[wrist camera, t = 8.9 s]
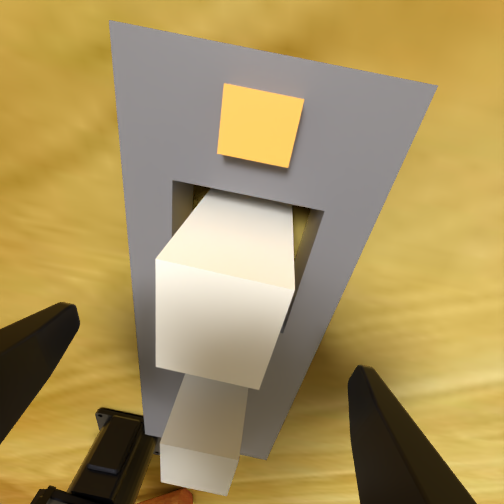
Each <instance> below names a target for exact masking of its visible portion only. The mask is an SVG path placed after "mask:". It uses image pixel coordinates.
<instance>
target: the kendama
mask: <svg viewBox="0 0 504 504" xmlns="http://www.w3.org/2000/svg"><path fill="white" fill-rule="evenodd" d="M137 504H193V497H192V493H191V492H190V491H188V490H187V489H186V488H182V489H179V490H176V491H173V492H170V493H167V494H164V495H161V496H158V497H155V498H152V499H149V500H146V501H143V502H140V503H137Z"/></svg>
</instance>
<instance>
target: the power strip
mask: <svg viewBox="0 0 504 504" xmlns="http://www.w3.org/2000/svg"><path fill="white" fill-rule="evenodd" d="M109 27H110V38H111V50H112V61H113V72H114V84H115V95H116V107H117V118H118V129H119V141H120V152H121V164H122V175H123V187H124V198H125V209H126V221H127V232H128V244H129V255H130V267H131V278H132V289H133V301H134V312H135V324H136V335H137V347H138V358H139V369H140V381H141V392H142V404H143V415H144V426H145V434H147V435H151V436H156V437H161V438H162V439H161V441H160V467H161V482H163V483H167V484H172V485H177V486H181V487H186V488H191V489H195V490H200V491H205V492H209V493H214V494H219V495H223V496H227V495H228V492H229V489H230V486H231V483H232V480H233V477H234V474H235V471H236V468H237V465H238V462H239V456H240V455H245V456H250V457H254V458H259V459H264V460H267V458H268V455H269V453H270V451H271V449H272V447H273V445H274V442H275V440H276V438H277V436H278V434H279V432H280V429H281V427H282V425H283V423H284V421H285V418H286V416H287V414H288V412H289V410H290V408H291V405H292V403H293V401H294V399H295V397H296V394H297V392H298V390H299V388H300V386H301V384H302V381H303V379H304V377H305V375H306V373H307V370H308V368H309V366H310V364H311V362H312V360H313V357H314V355H315V353H316V351H317V349H318V346H319V344H320V342H321V340H322V338H323V336H324V333H325V331H326V329H327V327H328V325H329V322H330V320H331V318H332V316H333V314H334V312H335V309H336V307H337V305H338V303H339V301H340V298H341V296H342V294H343V292H344V290H345V288H346V285H347V283H348V281H349V279H350V277H351V274H352V272H353V270H354V268H355V266H356V264H357V261H358V259H359V257H360V255H361V253H362V250H363V248H364V246H365V244H366V242H367V240H368V237H369V235H370V233H371V231H372V229H373V227H374V224H375V222H376V220H377V218H378V216H379V213H380V211H381V209H382V207H383V205H384V203H385V200H386V198H387V196H388V194H389V192H390V189H391V187H392V185H393V183H394V181H395V179H396V176H397V174H398V172H399V170H400V168H401V165H402V163H403V161H404V159H405V157H406V155H407V152H408V150H409V148H410V146H411V144H412V141H413V139H414V137H415V135H416V133H417V131H418V128H419V126H420V124H421V122H422V120H423V117H424V115H425V113H426V111H427V109H428V107H429V104H430V102H431V100H432V98H433V96H434V93H435V91H436V89H437V87H438V86H437V85H432V84H427V83H422V82H417V81H412V80H407V79H402V78H397V77H392V76H387V75H382V74H377V73H372V72H367V71H362V70H357V69H352V68H347V67H342V66H337V65H332V64H327V63H322V62H317V61H312V60H307V59H302V58H297V57H292V56H287V55H282V54H277V53H272V52H267V51H261V50H256V49H251V48H246V47H241V46H236V45H231V44H226V43H221V42H216V41H211V40H206V39H201V38H196V37H191V36H186V35H181V34H176V33H171V32H166V31H161V30H156V29H151V28H146V27H141V26H136V25H131V24H126V23H121V22H116V21H111V20H109ZM194 184H195V185H200V186H205V187H210V188H215V189H219V190H224V191H229V192H234V193H239V194H244V195H249V196H254V197H259V198H263V199H268V200H273V201H278V202H283V203H288V204H293V205H298V206H303V207H307V208H311V210H310V213H309V216H308V219H307V223H306V226H305V229H304V232H303V236H302V239H301V242H300V245H299V249H298V252H297V255H296V258H295V262H294V277H295V291H294V294H293V297H292V300H291V302H290V305H289V308H288V311H287V314H286V316H285V319H284V322H283V325H282V327H281V330H280V333H279V336H278V339H277V341H276V344H275V347H274V350H273V353H272V355H271V358H270V361H269V364H268V366H267V369H266V372H265V375H264V378H263V380H262V383H261V386H260V389H259V390H257V389H252V388H248V387H243V386H239V385H235V384H230V383H226V382H221V381H217V380H212V379H208V378H203V377H199V376H195V375H190V374H186V373H181V372H177V371H172V370H168V369H163V368H159V367H156V269H155V259H156V257H157V256H158V255H159V254H160V252H161V251H162V250H163V249H164V247H165V246H166V245H167V243H168V242H169V241H170V240H171V238H172V237H173V236H174V235H175V233H176V232H177V231H178V229H179V228H180V227H181V226H182V224H183V223H184V222H185V221H186V219H187V218H188V217H189V215H190V214H191V213H192V210H193V192H194Z"/></svg>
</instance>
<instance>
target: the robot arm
mask: <svg viewBox="0 0 504 504" xmlns="http://www.w3.org/2000/svg"><path fill="white" fill-rule="evenodd" d="M79 326H80V320H79V316H78V312H77V308H76V306H75V305H74V304H71V303H66V302H59V303H57V304H55V305H52V306H50V307H48V308H46V309H44V310H41V311H39V312H37V313H35V314H33V315H30V316H28V317H26V318H24V319H22V320H19V321H17V322H15V323H13V324H11V325H8V326H6V327H4V328H2V329H0V444H1V443H2V441H3V440H4V439H5V437H6V436H7V435H8V433H9V432H10V430H11V429H12V428H13V426H14V425H15V424H16V422H17V421H18V420H19V418H20V417H21V415H22V414H23V413H24V411H25V410H26V409H27V407H28V406H29V405H30V403H31V402H32V400H33V399H34V398H35V396H36V395H37V394H38V392H39V391H40V390H41V388H42V387H43V385H44V384H45V383H46V381H47V380H48V378H49V377H50V376H51V374H52V373H53V371H54V369H55V368H56V366H57V364H58V363H59V361H60V359H61V358H62V356H63V354H64V353H65V351H66V349H67V348H68V346H69V344H70V343H71V341H72V339H73V338H74V336H75V334H76V333H77V331H78V329H79ZM348 401H349V421H350V437H351V446H352V453H353V459H354V466H355V472H356V479H357V485H358V492H359V498H360V504H477V503H476V502H475V500H474V499H473V498H472V496H471V495H470V494H469V493H468V491H467V490H466V489H465V487H464V486H463V485H462V483H461V482H460V481H459V479H458V478H457V477H456V476H455V474H454V473H453V472H452V470H451V469H450V468H449V466H448V465H447V464H446V462H445V461H444V460H443V459H442V457H441V456H440V455H439V453H438V452H437V451H436V449H435V448H434V447H433V445H432V444H431V443H430V442H429V440H428V439H427V438H426V436H425V435H424V434H423V432H422V431H421V430H420V428H419V427H418V426H417V425H416V423H415V422H414V421H413V419H412V418H411V417H410V415H409V414H408V413H407V411H406V410H405V409H404V408H403V406H402V405H401V404H400V402H399V401H398V400H397V398H396V397H395V396H394V394H393V393H392V392H391V390H390V389H389V388H388V387H387V385H386V384H385V383H384V381H383V380H382V379H381V377H380V376H379V375H378V373H377V372H376V371H375V370H374V369H373V368H372V367H370V366H365V365H358V366H357V367H356V369H355V370H354V372H353V374H352V375H351V377H350V379H349V381H348ZM95 416H96V419H97V423H98V427H99V430H100V432H99V434H98V436H97V437H96V439H95V441H94V443H93V445H92V446H91V448H90V450H89V452H88V454H87V456H86V457H85V459H84V461H83V463H82V465H81V466H80V468H79V470H78V472H77V474H76V475H75V477H74V479H73V481H72V483H71V485H70V486H69V488H68V490H67V492H64V491H61V490H58V489H56V487H54V486H51V485H50V486H49V487H48V489H39V491H38V492H37V494H36V496H35V497H34V499H33V500H32V502H31V504H135V501H136V498H137V495H138V493H139V490H140V487H141V485H142V482H143V479H144V477H145V474H146V471H147V468H148V466H149V463H150V460H151V458H152V455H153V454H156V455H160V441H161V439H162V438H161V437H156V436H151V435H147V434H145V426H144V418H142V417H138V416H133V415H128V414H124V413H119V412H114V411H110V410H105V409H98V410H97V412H96V414H95Z"/></svg>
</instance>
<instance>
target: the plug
mask: <svg viewBox="0 0 504 504" xmlns="http://www.w3.org/2000/svg"><path fill="white" fill-rule="evenodd" d="M155 269H156V367H159V368H163V369H168V370H172V371H177V372H181V373H186V374H190V375H195V376H199V377H203V378H208V379H212V380H217V381H221V382H226V383H230V384H235V385H239V386H243V387H248V388H252V389H257V390H259V389H260V386H261V383H262V380H263V378H264V375H265V372H266V369H267V366H268V364H269V361H270V358H271V355H272V353H273V350H274V347H275V344H276V341H277V339H278V336H279V333H280V330H281V327H282V325H283V322H284V319H285V316H286V314H287V311H288V308H289V305H290V302H291V300H292V297H293V294H294V291H295V277H294V246H293V215H292V204H288V203H283V202H278V201H273V200H268V199H263V198H259V197H254V196H249V195H244V194H239V193H234V192H229V191H224V190H219V189H215V188H211V189H210V190H209V191H208V192H207V194H206V195H205V196H204V198H203V199H202V200H201V201H200V203H199V204H198V205H197V206H196V208H195V209H194V210H193V212H192V213H191V214H190V215H189V217H188V218H187V219H186V221H185V222H184V223H183V224H182V226H181V227H180V228H179V229H178V231H177V232H176V233H175V235H174V236H173V237H172V238H171V240H170V241H169V242H168V243H167V245H166V246H165V247H164V249H163V250H162V251H161V252H160V254H159V255H158V256H157V257H156V259H155Z"/></svg>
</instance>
